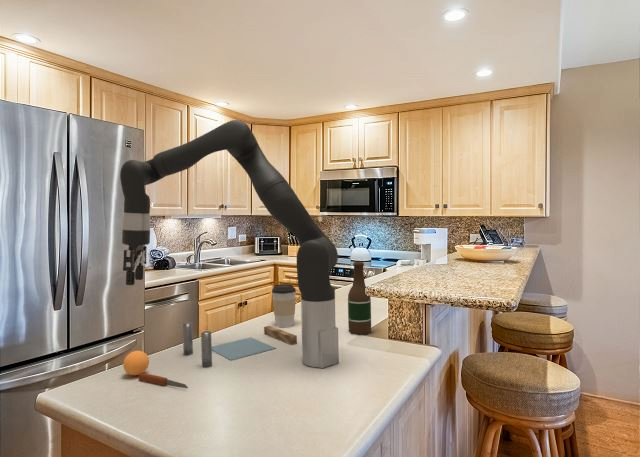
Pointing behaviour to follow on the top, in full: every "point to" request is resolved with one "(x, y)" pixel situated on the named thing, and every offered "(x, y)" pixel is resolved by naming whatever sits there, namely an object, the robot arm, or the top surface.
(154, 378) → the kitchen knife
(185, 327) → the left post
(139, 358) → the ball
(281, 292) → the coffee cup
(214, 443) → the top surface
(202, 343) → the right post
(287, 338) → the wall
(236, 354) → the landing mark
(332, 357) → the robot arm
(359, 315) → the beer bottle
